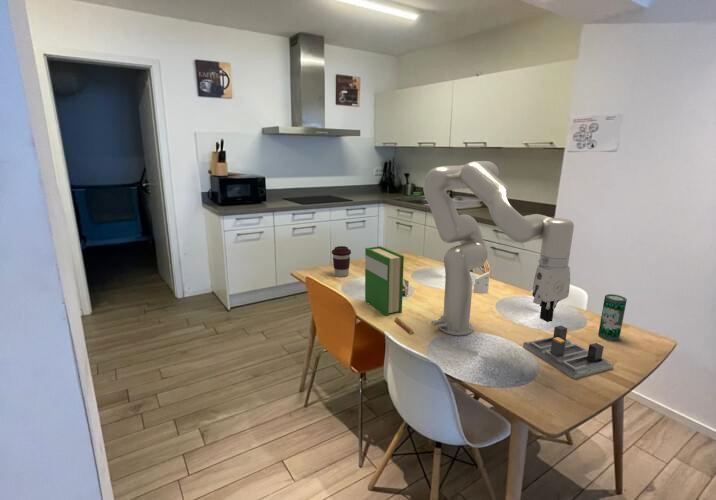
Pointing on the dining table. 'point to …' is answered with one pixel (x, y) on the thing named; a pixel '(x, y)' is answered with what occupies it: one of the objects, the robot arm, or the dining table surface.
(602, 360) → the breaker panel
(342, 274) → the coffee cup
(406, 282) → the architectural model
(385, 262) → the hardback book
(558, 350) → the block
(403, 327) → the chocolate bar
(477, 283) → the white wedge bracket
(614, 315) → the can
